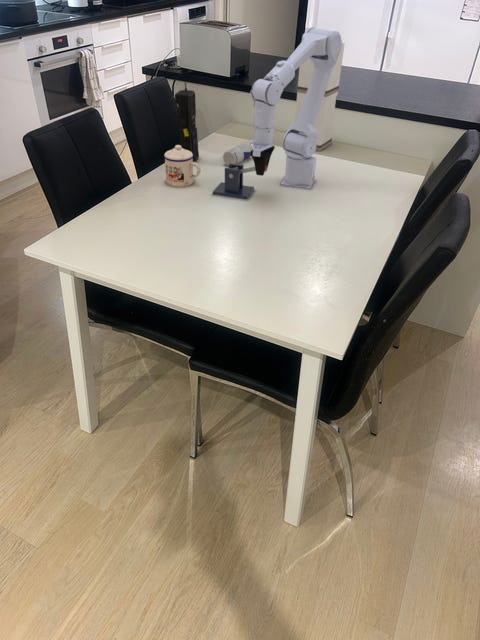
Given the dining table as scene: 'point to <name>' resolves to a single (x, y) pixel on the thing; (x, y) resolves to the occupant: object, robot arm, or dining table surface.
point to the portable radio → (187, 121)
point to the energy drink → (237, 154)
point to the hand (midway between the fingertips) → (261, 172)
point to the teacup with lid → (180, 167)
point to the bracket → (233, 184)
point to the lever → (247, 169)
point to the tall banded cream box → (328, 103)
